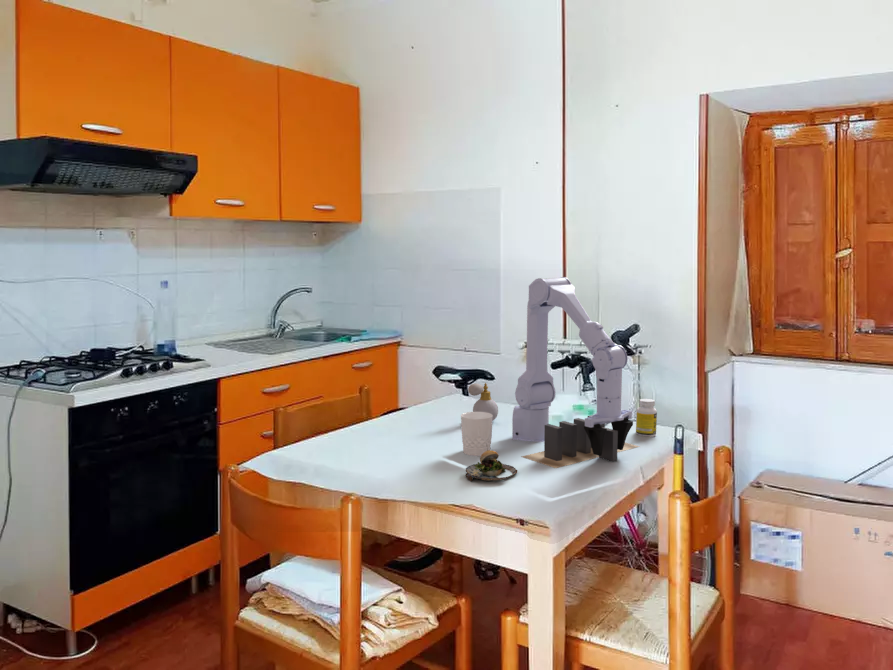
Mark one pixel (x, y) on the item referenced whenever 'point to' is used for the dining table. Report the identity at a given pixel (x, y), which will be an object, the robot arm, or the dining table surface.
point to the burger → (488, 467)
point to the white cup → (476, 432)
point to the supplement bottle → (646, 418)
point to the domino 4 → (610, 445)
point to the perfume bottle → (483, 400)
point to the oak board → (569, 460)
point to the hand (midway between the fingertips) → (608, 451)
